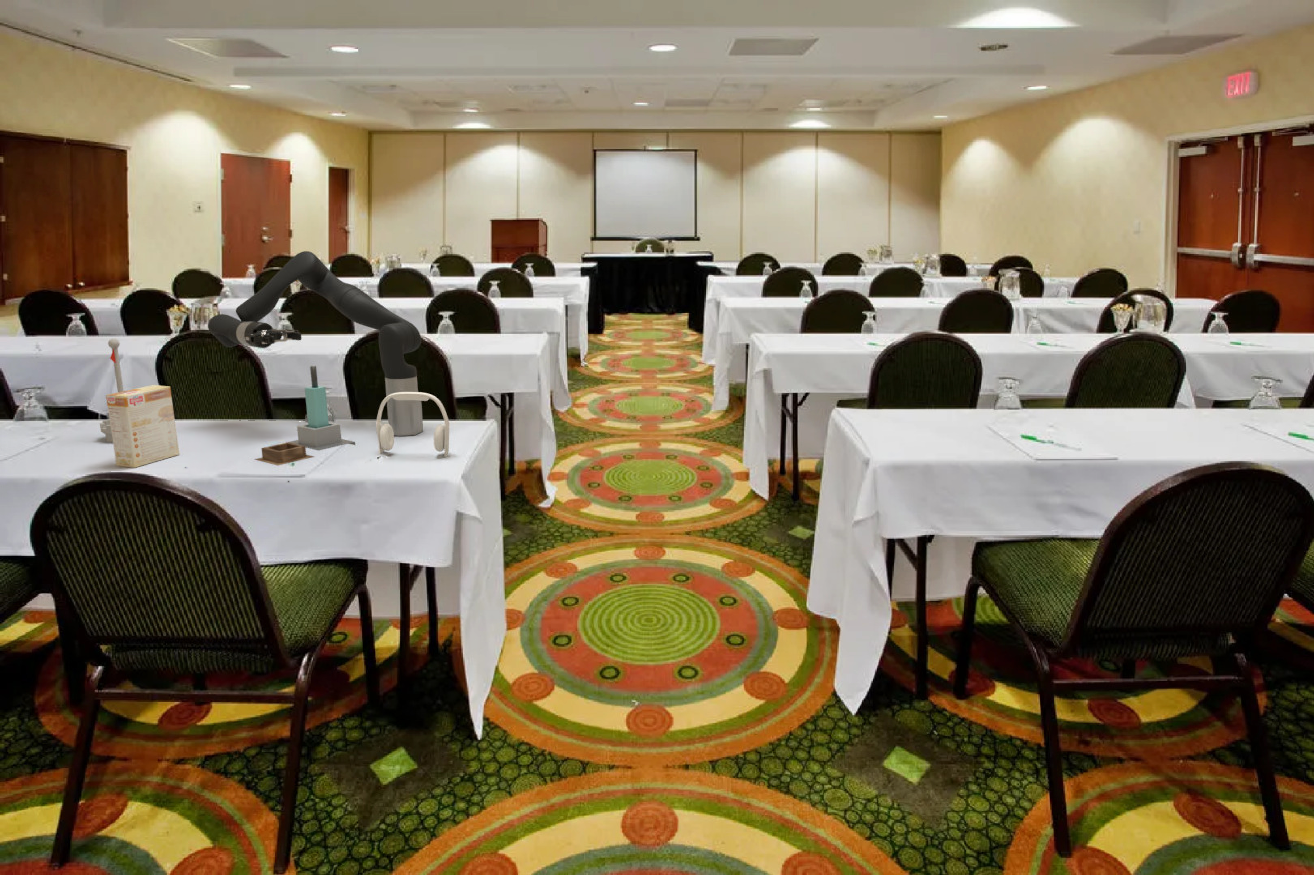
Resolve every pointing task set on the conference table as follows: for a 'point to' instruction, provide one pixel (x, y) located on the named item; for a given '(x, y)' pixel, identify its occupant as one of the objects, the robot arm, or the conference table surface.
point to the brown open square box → (283, 453)
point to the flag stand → (115, 358)
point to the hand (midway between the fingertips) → (286, 338)
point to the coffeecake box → (142, 425)
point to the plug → (316, 403)
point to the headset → (386, 430)
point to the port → (320, 437)
